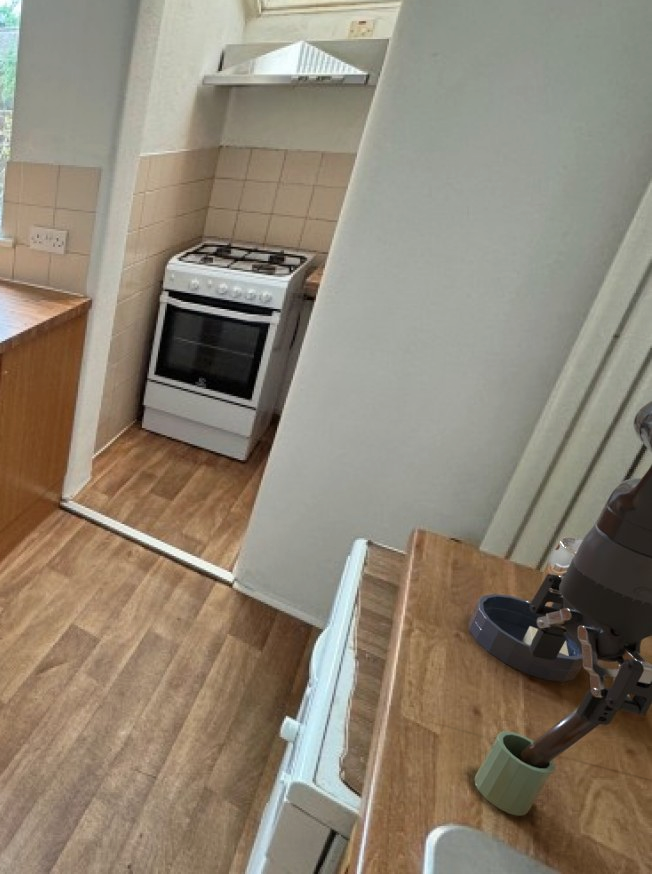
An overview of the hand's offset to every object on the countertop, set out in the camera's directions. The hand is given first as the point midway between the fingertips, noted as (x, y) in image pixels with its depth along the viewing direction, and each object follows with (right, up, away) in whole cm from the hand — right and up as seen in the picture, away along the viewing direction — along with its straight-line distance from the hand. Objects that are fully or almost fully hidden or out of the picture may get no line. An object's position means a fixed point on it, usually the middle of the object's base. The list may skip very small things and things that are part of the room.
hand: (563, 686), depth 68 cm
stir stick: (-1, -18, +7) cm, 19 cm away
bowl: (+24, -10, +28) cm, 38 cm away
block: (+24, -10, +25) cm, 36 cm away
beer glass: (+35, -8, +34) cm, 49 cm away
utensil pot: (0, -18, +7) cm, 20 cm away
